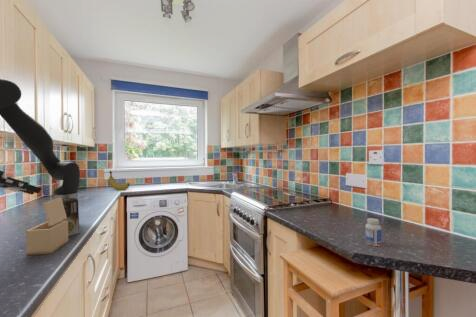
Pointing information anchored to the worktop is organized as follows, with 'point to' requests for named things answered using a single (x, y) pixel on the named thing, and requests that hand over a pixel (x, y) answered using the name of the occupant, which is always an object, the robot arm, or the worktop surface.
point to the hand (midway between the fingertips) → (37, 191)
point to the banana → (115, 184)
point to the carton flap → (54, 211)
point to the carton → (46, 238)
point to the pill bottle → (373, 232)
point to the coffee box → (72, 215)
